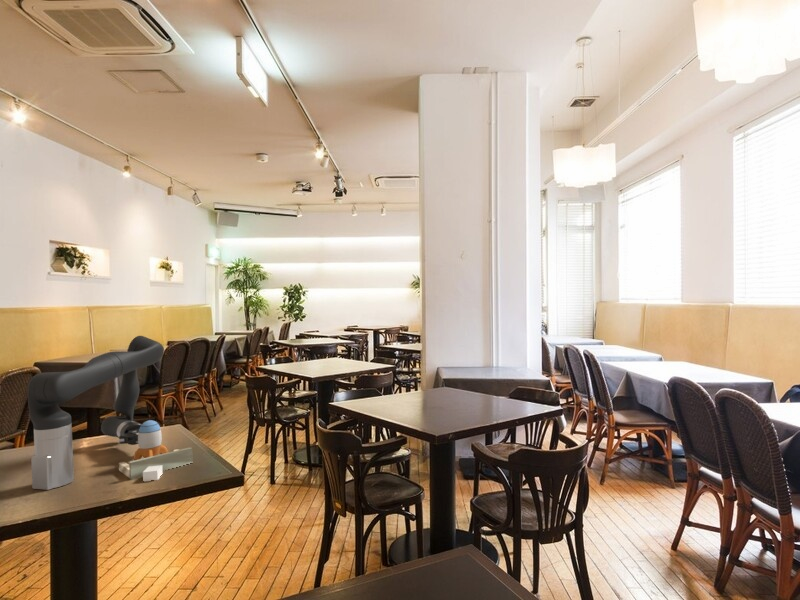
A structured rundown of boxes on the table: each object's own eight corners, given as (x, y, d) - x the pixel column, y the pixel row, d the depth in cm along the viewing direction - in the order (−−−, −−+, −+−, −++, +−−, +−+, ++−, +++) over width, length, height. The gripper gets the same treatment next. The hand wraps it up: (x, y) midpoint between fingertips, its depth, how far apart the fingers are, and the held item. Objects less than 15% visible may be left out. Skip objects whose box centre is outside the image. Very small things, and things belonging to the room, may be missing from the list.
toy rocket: (156, 471, 155) (142, 427, 153) (127, 476, 156) (113, 433, 155) (175, 456, 165) (162, 414, 163) (147, 461, 166) (134, 420, 165)
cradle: (118, 470, 154) (118, 454, 154) (177, 455, 167) (177, 441, 167) (131, 479, 145) (130, 462, 145) (192, 463, 158) (192, 448, 158)
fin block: (157, 480, 144) (157, 470, 144) (143, 482, 143) (142, 472, 143) (162, 474, 149) (162, 465, 149) (148, 476, 148) (148, 466, 148)
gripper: (151, 438, 180) (168, 446, 167) (111, 447, 170) (126, 456, 158) (150, 418, 180) (167, 424, 168) (110, 425, 170) (125, 433, 158)
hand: (147, 439), depth 163 cm, fingers closed
